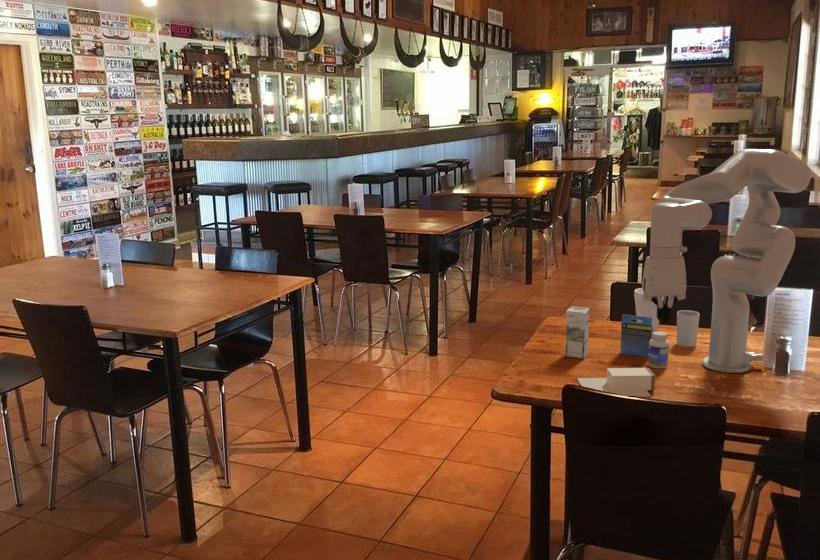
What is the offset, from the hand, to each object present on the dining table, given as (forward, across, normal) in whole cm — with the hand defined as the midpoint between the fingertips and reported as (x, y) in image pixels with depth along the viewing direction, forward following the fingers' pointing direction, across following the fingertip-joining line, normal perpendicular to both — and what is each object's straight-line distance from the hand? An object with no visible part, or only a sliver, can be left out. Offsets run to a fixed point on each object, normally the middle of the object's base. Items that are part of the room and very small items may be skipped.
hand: (663, 321), depth 192 cm
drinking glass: (+19, -19, -36) cm, 45 cm away
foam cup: (+19, -12, -53) cm, 58 cm away
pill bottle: (+18, -4, -16) cm, 25 cm away
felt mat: (+18, +13, +1) cm, 22 cm away
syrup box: (+18, +17, -26) cm, 36 cm away
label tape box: (+19, -1, -27) cm, 33 cm away
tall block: (+15, +3, +1) cm, 16 cm away
